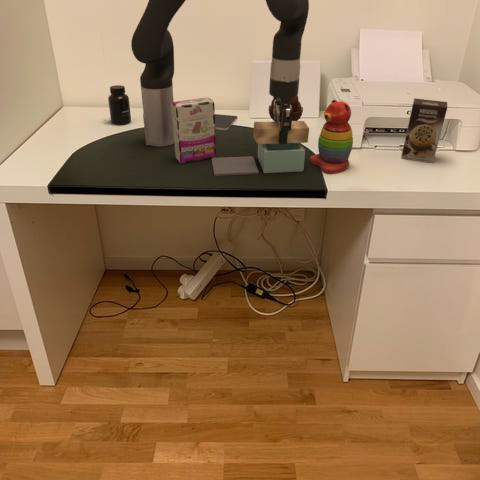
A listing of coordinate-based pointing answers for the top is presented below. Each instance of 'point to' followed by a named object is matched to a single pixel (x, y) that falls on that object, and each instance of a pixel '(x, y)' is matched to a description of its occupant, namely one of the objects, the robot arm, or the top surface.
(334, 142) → the stacking bear
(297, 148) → the dish
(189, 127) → the candy bar box
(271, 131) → the wooden block
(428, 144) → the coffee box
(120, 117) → the supplement bottle
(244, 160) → the mat
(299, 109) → the ice cream bowl
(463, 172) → the top surface
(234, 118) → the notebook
